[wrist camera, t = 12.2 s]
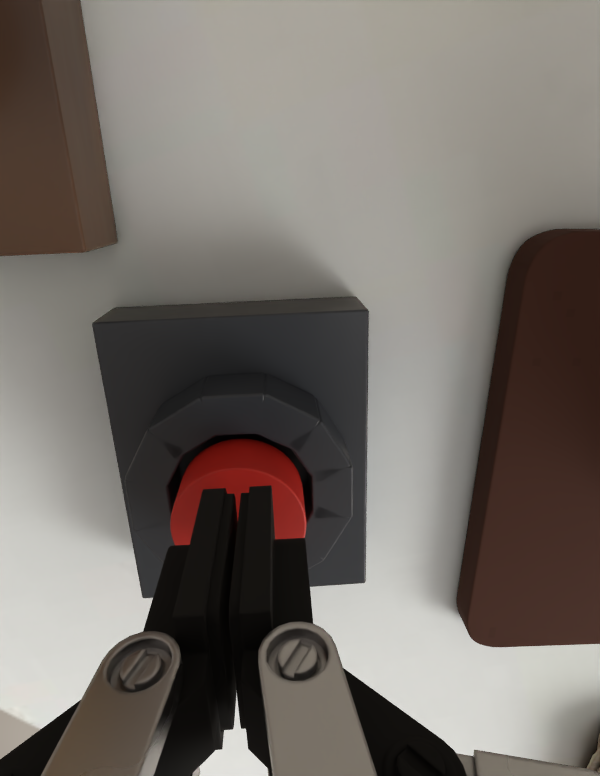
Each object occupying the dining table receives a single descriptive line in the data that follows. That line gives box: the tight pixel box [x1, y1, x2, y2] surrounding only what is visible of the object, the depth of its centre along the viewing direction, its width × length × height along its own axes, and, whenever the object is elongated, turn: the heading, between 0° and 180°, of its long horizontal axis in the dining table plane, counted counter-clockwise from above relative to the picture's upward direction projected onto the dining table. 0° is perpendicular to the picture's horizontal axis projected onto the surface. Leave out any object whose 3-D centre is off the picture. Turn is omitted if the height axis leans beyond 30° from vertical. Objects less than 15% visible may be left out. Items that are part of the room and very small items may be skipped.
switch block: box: [92, 297, 369, 598], centre depth 16 cm, size 10×8×4 cm
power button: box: [170, 439, 307, 545], centre depth 14 cm, size 4×4×2 cm
